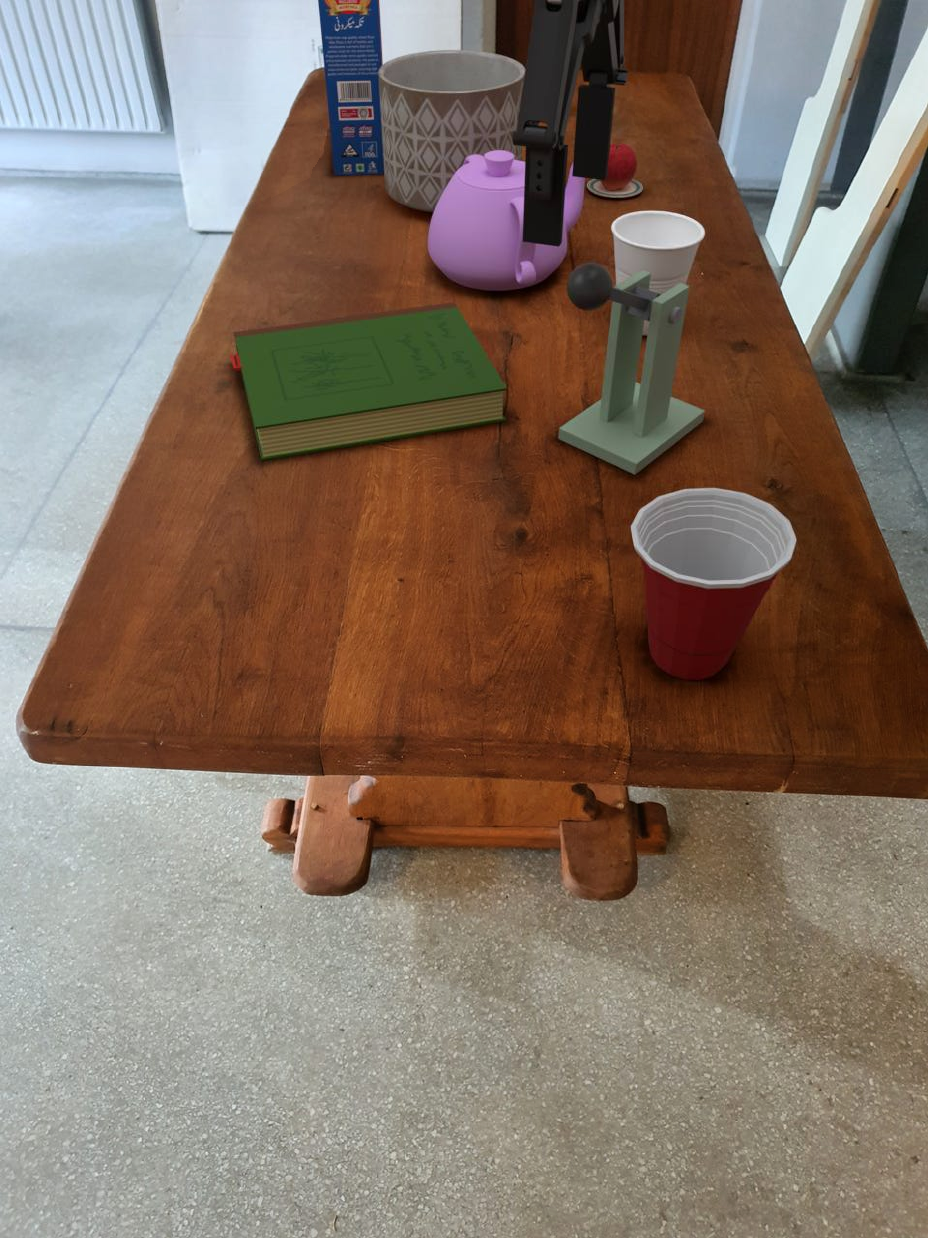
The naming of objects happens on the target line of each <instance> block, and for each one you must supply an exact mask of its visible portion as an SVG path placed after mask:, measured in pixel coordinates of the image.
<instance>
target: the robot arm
mask: <svg viewBox="0 0 928 1238" xmlns="http://www.w3.org/2000/svg"><path fill="white" fill-rule="evenodd" d="M531 21H532V22H531V29H530V35H529V41H528V49H527V55H526V63H525V75H524V82H523V89H522V96H521V102H520V109H519V116H518V123H517V130H516V131H513V138H512V140H513V145H516V146H523V147H525V156H524V157H525V159H524V160H525V161H524V162H525V185H524V212H523V240H522V242H529V243H536V244H543V245H550V246H558V247H559V246H560V245H561V243H562V233H563V218H564V203H565V189H566V186H567V172H568V156H569V144H565V141H566V132H567V128H568V124H569V119H570V116H571V115H570V114H571V109H572V105H573V101H574V96H575V91H576V86H577V84H578V83H577V82H578V77H579V72H580V69H581V73H582V80H583V82H584V83H588V84H580V85H579V86H578V88H577V89H578V90H577V101H576V114H575V116H576V117H575V129H574V130H575V132H574V144H573V145H574V146H573V159H572V164H573V172H572V176H573V177H582V178H585V179H591V180H593V179H599V180H605V179H606V178H607V172H608V162H609V151H610V145H611V141H612V140H611V139H612V131H613V130H612V129H613V120H614V119H613V118H614V107H615V97H616V87H611V85H612V86H613V85H616V86H624V87H625V86H626V84H627V80H628V75H629V74H628V73H629V70H628V68H623V66H624V64H625V62H626V61H625V60H626V57H625V0H534V8H533V14H532V20H531ZM540 123H544V124H546V125H540Z"/></svg>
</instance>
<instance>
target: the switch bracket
mask: <svg viewBox="0 0 928 1238" xmlns="http://www.w3.org/2000/svg"><path fill="white" fill-rule="evenodd" d="M650 277H651V273H649V272H647V271H644V270H641V271H640V272H638V273H636V274H634V275H633V276H631V277H629V278H628V279H626V280H624V281H623V282H621V283H619V284H617V285H616V284H615V285H613V287H614V288H617V289H620V290H623V291H626V292H629V293H632V294H634V293H635V291H636V288H637V286H639V287H642V288H645V289H647V290H649V284H650ZM689 293H690V285H688V284H682V283H679V284H678V285H676V286H675V287H673V288H671V289H670V290H668V291H667V292H665V293H663V294H662V295H660V296H659V297H657V298H655V299H654V300H653V301H652V308H651V315H650V322H649V329H648V336H646V343H645V351H644V356H643V364H642V370H641V378H640V382H637V376H638V369H639V361H640V354H641V349H642V340H643V335H642V334H643V327H644V319H641V318H639V317H636V316H633V315H630V314H628V313H627V312H628V309H629V307H630V306H627V305H624V304H621V303H617V302H614V301H611V310H610V320H609V329H608V337H607V347H606V354H605V355H606V356H605V363H604V372H603V381H602V391H601V399H599V400H598V401H596V402H595V403H593V404H592V405H590V406H589V407H587V408H586V409H585V410H582V411H581V412H580V413H579V414H577V415H576V416H574V417H573V418H571V419H570V420H569V421H567V422H565V423H564V424H562V425H561V426H560V427H559V428H558V437H557V438H558V440H559V441H561V442H563V443H566V444H567V445H570V446H572V447H575V448H577V449H579V450H581V451H583V452H584V453H585V452H586V453H587V454H590V455H592V456H593V457H596V458H598V459H600V460H602V461H604V462H607V463H608V464H610V465H613V466H616V467H617V468H619V469H621V470H624V471H626V472H628V473H630V474H632V475H634V476H635V475H637V474H638V473H639V472H641V471H642V470H643V469H645V468H646V466H648V465H649V464H651V463H652V462H653V461H654V460H656V459H657V458H659V457H660V456H661V455H662V454H664V453H665V452H666V451H668V449H670V448H671V447H672V446H674V445H675V444H676V443H677V442H679V441H681V439H683V438H684V437H685V436H686V435H688V434H689V433H690V432H691V431H693V430H694V429H695V428H696V427H699V425H700V424H702V423H703V422H704V418H705V412H706V410H705V409H702V408H700V407H698V406H695V405H693V404H690V403H688V402H686V401H683V400H681V399H678V398H676V397H673V396H672V393H673V392H672V390H673V385H674V380H675V374H676V369H677V362H678V356H679V351H680V345H681V341H682V340H681V339H682V334H683V327H684V322H685V315H686V310H687V304H688V299H689Z"/></svg>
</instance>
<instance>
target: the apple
mask: <svg viewBox="0 0 928 1238" xmlns="http://www.w3.org/2000/svg"><path fill="white" fill-rule="evenodd" d="M637 169H638V161H637V156H636V153H635V151H634V149H633V148H632V147H631V146H629V145H628V144H626V143H623V142H614V143H610V151H609V162H608V172H607V178H606V179H605V180H599V179H591V180H589V181H588V182H587V184H586V188H587V189H588V191H590V192H591V193H592V194H594V195H597V196H601V197H605V198H614V199H616V198H618V199H622V198H623V199H624V198H631V197H634V196H636V195H639V194H640V193H642V191H643V189H644V186H643V184H642V183H640V181H638V180H635V179H633V178H634V177H635V175H636V172H637Z"/></svg>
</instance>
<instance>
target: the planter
mask: <svg viewBox="0 0 928 1238" xmlns="http://www.w3.org/2000/svg"><path fill="white" fill-rule="evenodd" d="M525 69H526V67H525V66H524V65H523V64H522V63H521V62H519V61H518V60H515V59H513V58H511V57H508V56H506V55H502V54H498V53H494V52H486V51H479V50H470V49H469V50H468V49H467V50H465V49H441V50H439V49H438V50H428V51H419V52H415V53H408V54H404V55H400V56H397V57H395V58H392V59H390V60H388V61H386V62H384V63H383V65H382V66H381V67H380V69H379V71H378V75H379V92H380V109H381V125H382V142H383V158H384V174H383V175H384V188H385V191H386V193H387V195H388V196H389V197H390V198H391V199H392V200H393V201H395V202H397V203H398V204H400V205H402V206H404V207H407V208H409V209H413V210H417V211H422V212H427V213H434V210H435V207H436V205H437V203H438V201H439V199H440V197H441V195H442V193H443V192H444V190H445V188H446V187H447V185H448V183H449V181H450V180H451V178H452V177H453V176H454V174H455V173H456V171H457V170H458V169H459V168H461V167H462V166H463V164H464V161H465V159H466V158H467V157H468V156H470V155H475V154H478V155H481V156H483V157H484V155H485V154H486V153H488V152H490V151H495V150H504V151H508V152H510V153H512V154H514V160H518V161H523V152H524V151H523V149H524V148H523V147H524V146H516V145H513V140H512V138H513V131H516V130H517V123H518V116H519V109H520V102H521V96H522V89H523V82H524V75H525ZM484 158H485V157H484Z"/></svg>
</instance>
